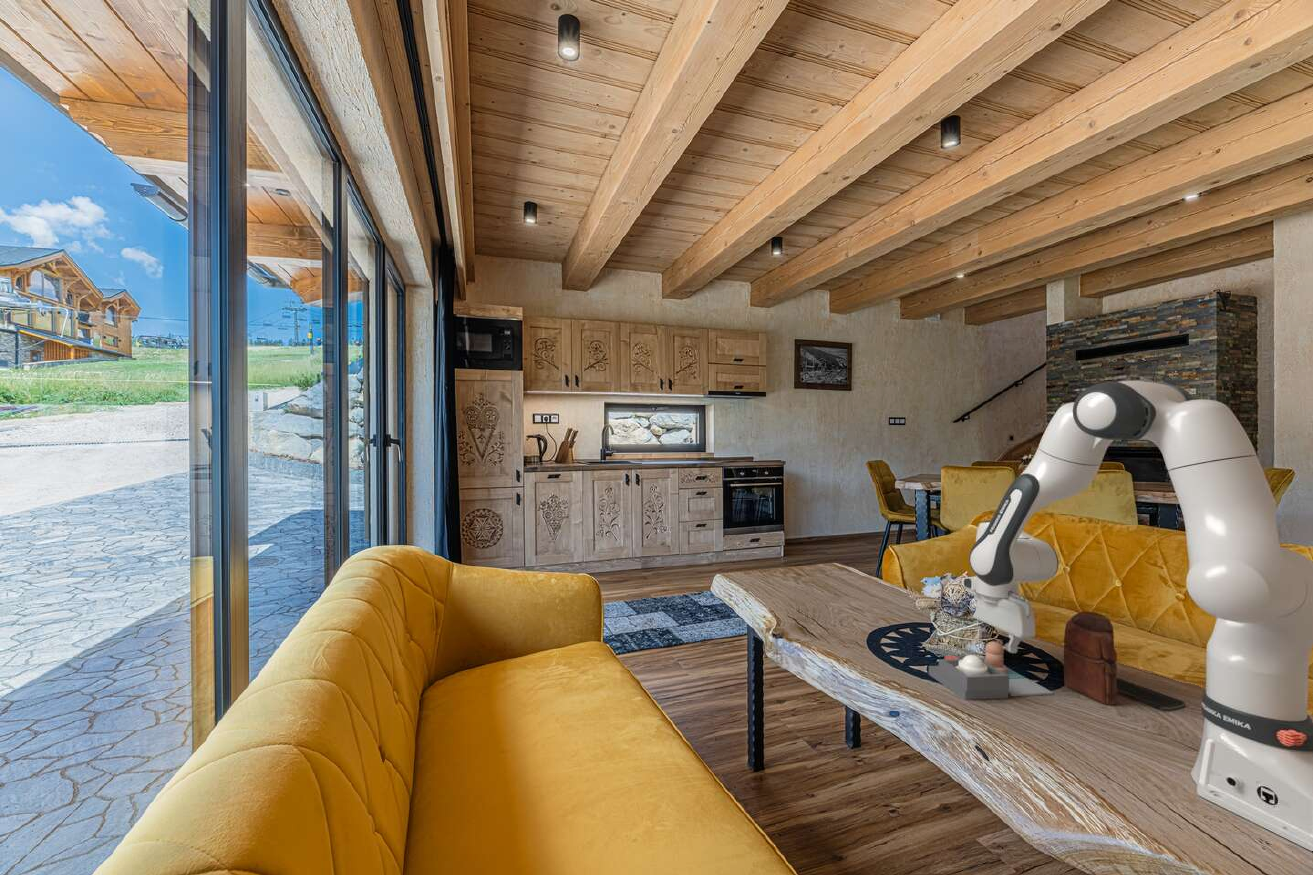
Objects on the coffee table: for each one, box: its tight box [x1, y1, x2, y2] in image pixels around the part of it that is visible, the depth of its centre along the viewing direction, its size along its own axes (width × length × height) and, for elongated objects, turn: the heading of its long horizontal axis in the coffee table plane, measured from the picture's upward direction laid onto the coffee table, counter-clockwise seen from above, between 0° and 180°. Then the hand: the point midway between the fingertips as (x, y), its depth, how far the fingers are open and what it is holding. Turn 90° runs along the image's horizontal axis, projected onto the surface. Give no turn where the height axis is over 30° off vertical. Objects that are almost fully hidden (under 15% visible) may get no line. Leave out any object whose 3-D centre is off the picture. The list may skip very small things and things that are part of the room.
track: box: [1006, 666, 1055, 697], centre depth 131 cm, size 16×10×1 cm, turn 7°
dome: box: [956, 654, 990, 675], centre depth 125 cm, size 7×7×5 cm
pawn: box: [983, 640, 1007, 674], centre depth 135 cm, size 5×5×7 cm
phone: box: [1116, 677, 1186, 713], centre depth 125 cm, size 8×1×15 cm
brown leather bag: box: [1063, 611, 1118, 706], centre depth 125 cm, size 12×6×18 cm, turn 13°
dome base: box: [928, 655, 1009, 701], centre depth 127 cm, size 13×10×5 cm
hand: (996, 644), depth 134 cm, fingers open, 8 cm apart
